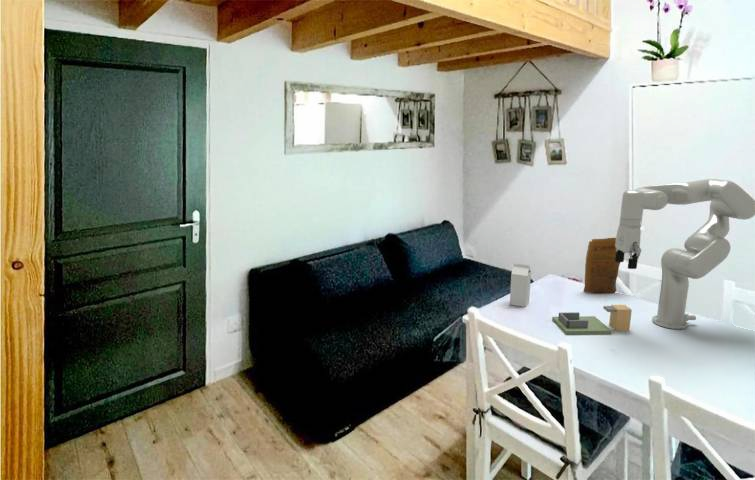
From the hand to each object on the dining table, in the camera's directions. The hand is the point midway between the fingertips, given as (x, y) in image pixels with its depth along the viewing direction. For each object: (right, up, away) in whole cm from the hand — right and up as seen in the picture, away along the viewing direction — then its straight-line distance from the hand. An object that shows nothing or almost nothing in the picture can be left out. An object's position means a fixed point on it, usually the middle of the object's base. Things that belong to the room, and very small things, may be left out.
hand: (625, 265), depth 189 cm
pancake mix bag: (+13, -16, +49) cm, 53 cm away
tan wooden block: (-1, -26, +6) cm, 27 cm away
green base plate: (-15, -26, +7) cm, 30 cm away
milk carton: (-32, -20, +34) cm, 51 cm away
